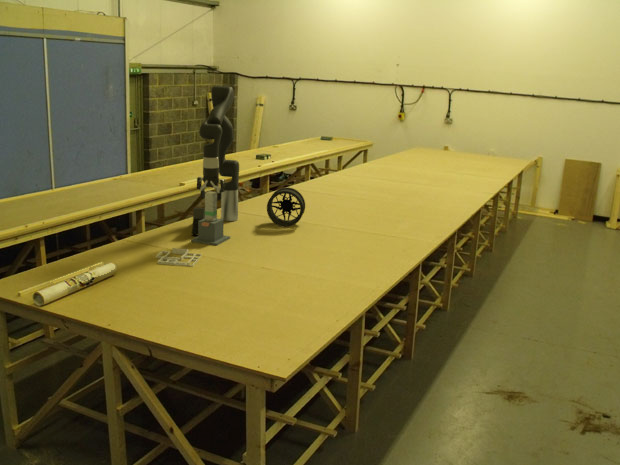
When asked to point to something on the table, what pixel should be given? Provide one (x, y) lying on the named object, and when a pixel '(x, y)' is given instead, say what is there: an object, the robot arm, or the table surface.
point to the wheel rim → (286, 206)
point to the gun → (197, 218)
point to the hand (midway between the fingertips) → (210, 199)
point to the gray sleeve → (210, 232)
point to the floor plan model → (175, 260)
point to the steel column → (211, 206)
